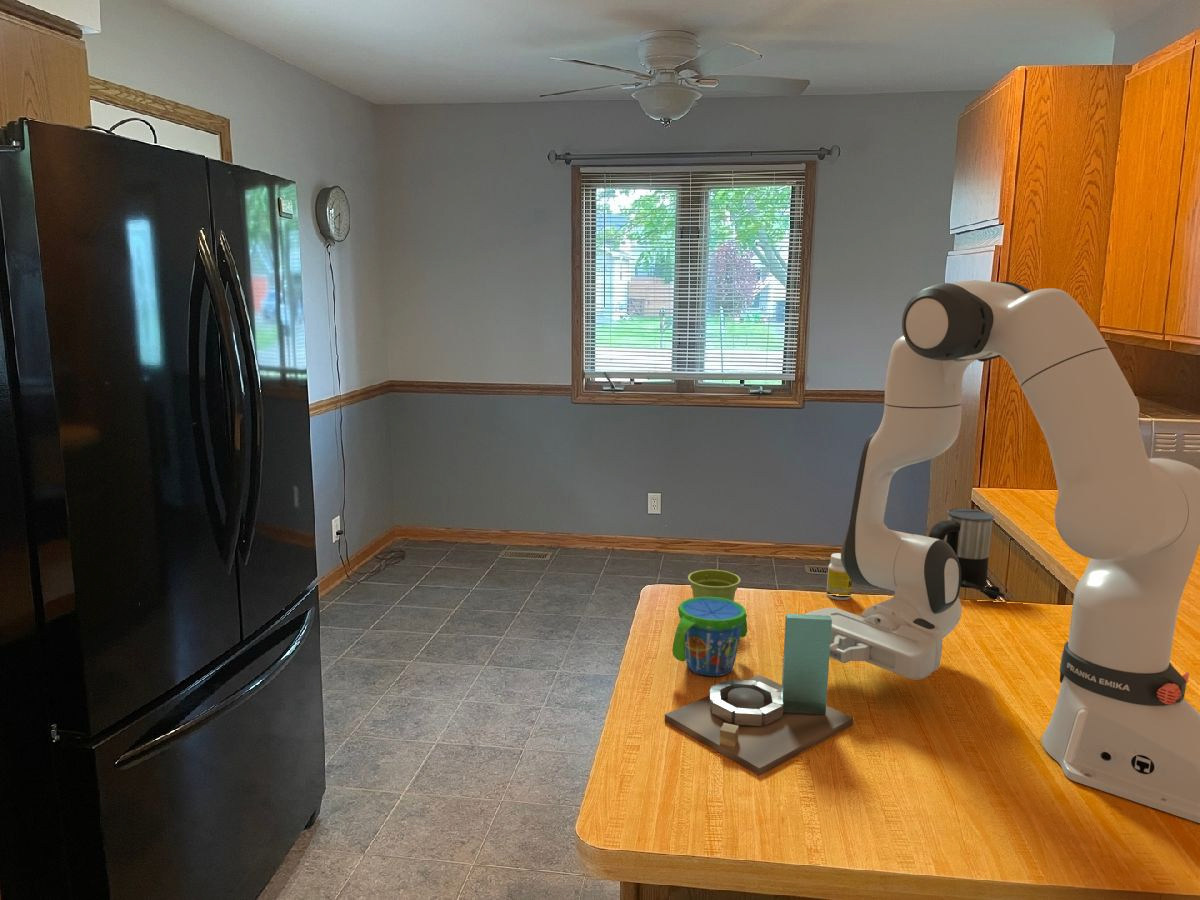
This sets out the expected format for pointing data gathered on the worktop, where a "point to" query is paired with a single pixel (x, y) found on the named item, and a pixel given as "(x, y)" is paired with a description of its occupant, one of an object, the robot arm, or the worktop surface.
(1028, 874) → the worktop surface
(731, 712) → the ring with upright panel
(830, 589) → the supplement bottle
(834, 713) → the base
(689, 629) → the snack cup
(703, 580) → the plant pot
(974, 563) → the milk frother
